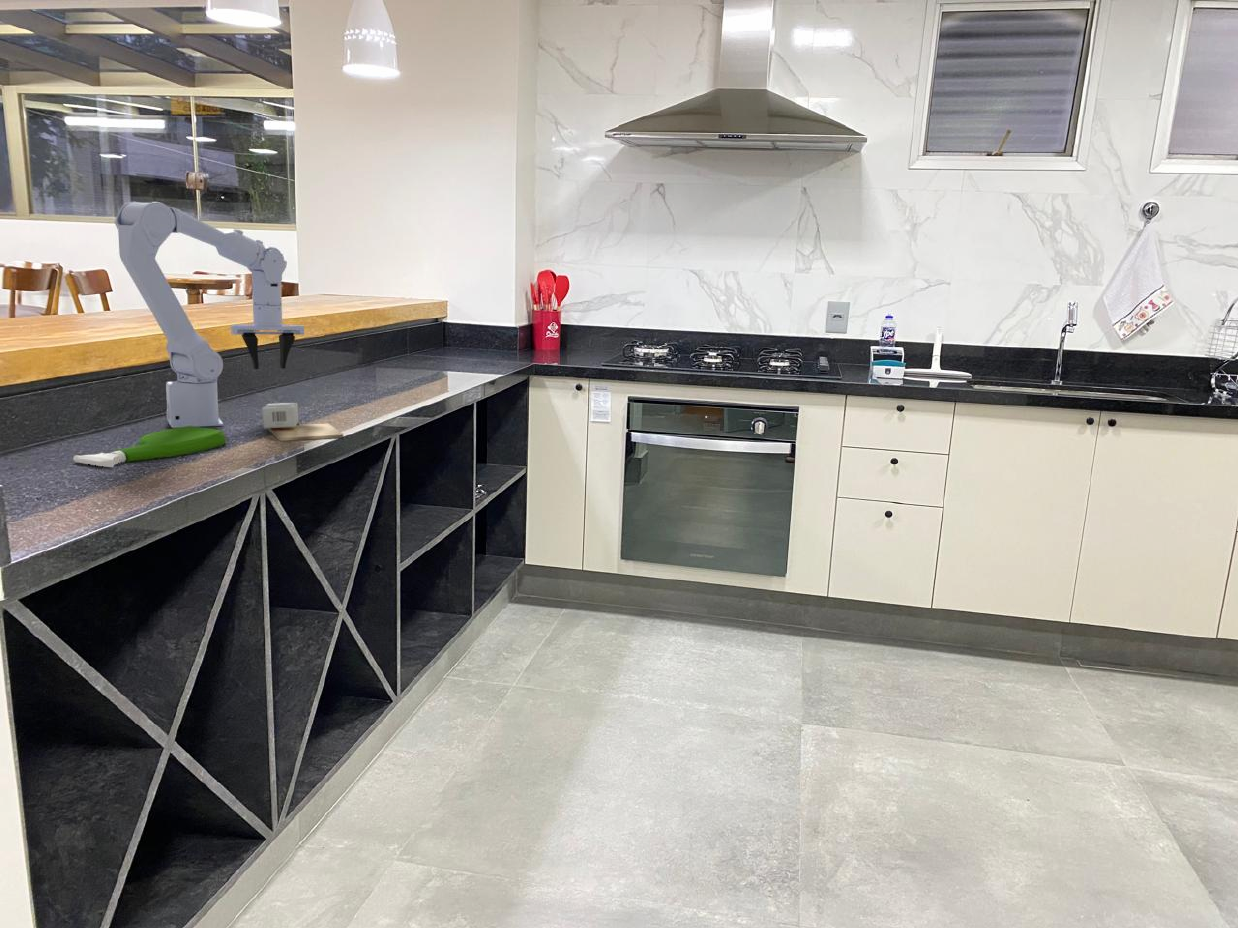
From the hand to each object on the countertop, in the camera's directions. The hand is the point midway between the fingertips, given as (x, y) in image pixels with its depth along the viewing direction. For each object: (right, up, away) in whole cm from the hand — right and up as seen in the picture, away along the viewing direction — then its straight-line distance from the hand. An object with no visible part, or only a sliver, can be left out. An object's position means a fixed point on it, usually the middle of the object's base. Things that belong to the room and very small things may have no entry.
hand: (269, 368), depth 191 cm
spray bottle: (-6, -19, -36) cm, 42 cm away
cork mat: (+13, -15, -14) cm, 24 cm away
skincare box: (+8, -12, -17) cm, 22 cm away
